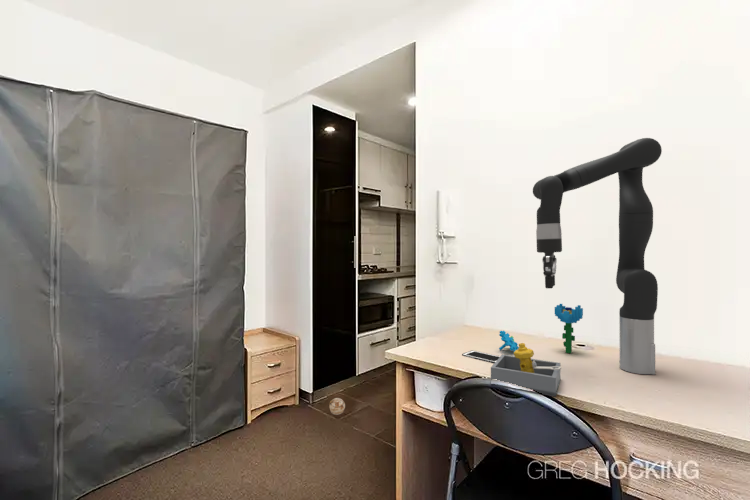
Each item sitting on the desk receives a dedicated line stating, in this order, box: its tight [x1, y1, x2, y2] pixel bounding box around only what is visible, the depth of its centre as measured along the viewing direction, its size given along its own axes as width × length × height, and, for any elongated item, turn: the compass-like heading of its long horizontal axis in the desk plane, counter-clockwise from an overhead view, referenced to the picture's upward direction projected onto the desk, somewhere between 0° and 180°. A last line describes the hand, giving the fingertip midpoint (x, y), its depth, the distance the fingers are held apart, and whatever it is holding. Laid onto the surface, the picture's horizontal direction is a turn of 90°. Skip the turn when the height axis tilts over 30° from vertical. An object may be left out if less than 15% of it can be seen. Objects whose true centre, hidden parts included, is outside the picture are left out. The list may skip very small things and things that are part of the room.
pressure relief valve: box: [513, 342, 562, 373], centre depth 105 cm, size 6×12×10 cm, turn 50°
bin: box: [490, 354, 561, 398], centre depth 107 cm, size 17×15×5 cm
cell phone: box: [461, 350, 501, 364], centre depth 131 cm, size 8×15×1 cm, turn 44°
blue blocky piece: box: [498, 330, 519, 353], centre depth 140 cm, size 11×6×10 cm
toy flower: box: [554, 303, 584, 354], centre depth 138 cm, size 9×9×18 cm
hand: (550, 287), depth 119 cm, fingers open, 8 cm apart
